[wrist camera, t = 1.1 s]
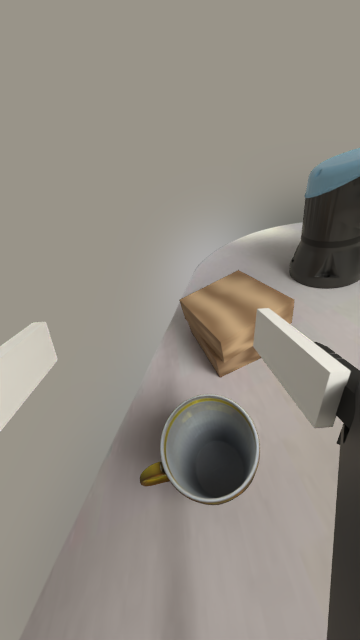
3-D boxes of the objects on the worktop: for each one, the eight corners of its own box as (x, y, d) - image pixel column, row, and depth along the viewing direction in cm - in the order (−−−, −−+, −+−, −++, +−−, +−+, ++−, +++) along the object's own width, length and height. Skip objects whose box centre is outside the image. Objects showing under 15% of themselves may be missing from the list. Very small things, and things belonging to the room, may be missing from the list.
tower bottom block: (245, 307, 51) (244, 290, 48) (288, 346, 40) (290, 327, 37) (191, 331, 49) (186, 315, 46) (220, 378, 38) (216, 361, 35)
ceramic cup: (233, 417, 33) (226, 380, 26) (279, 495, 25) (284, 469, 19) (153, 457, 31) (125, 428, 25) (175, 553, 24) (143, 546, 17)
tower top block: (240, 290, 48) (238, 270, 45) (291, 322, 38) (294, 299, 34) (185, 318, 45) (179, 299, 42) (224, 362, 35) (220, 341, 32)
